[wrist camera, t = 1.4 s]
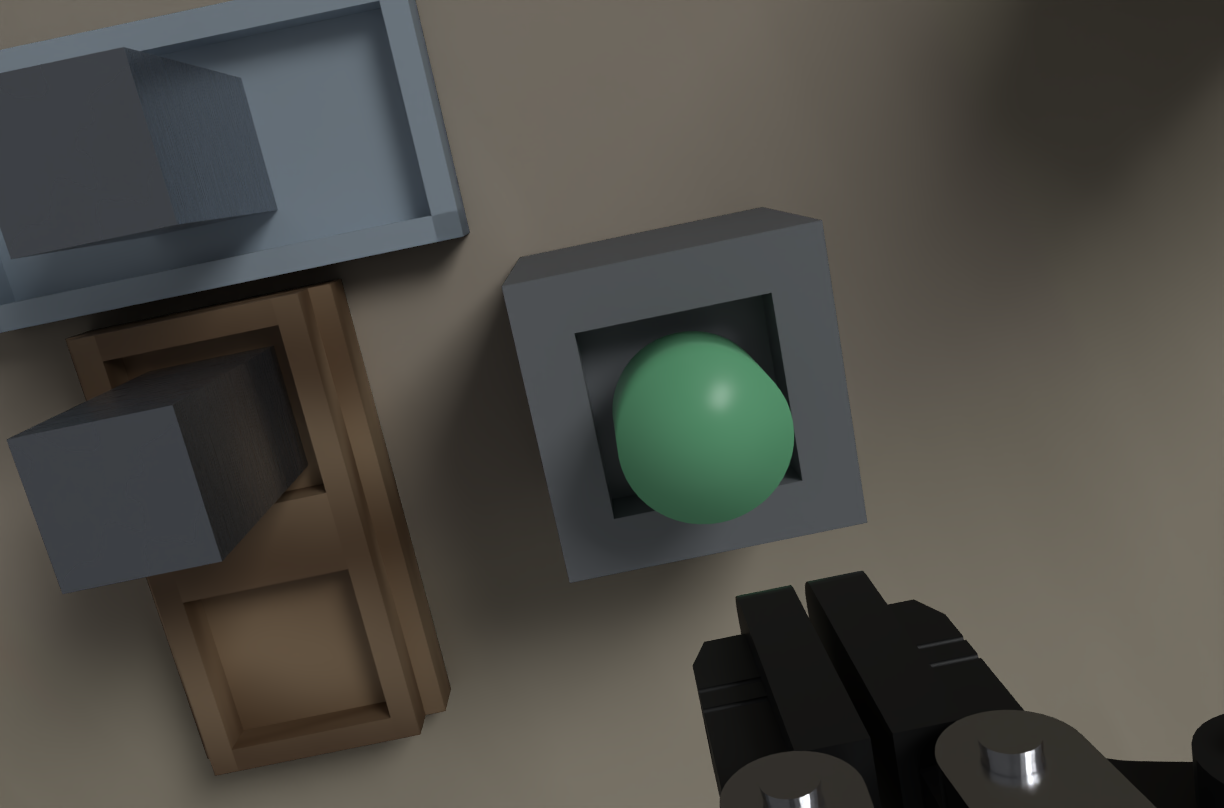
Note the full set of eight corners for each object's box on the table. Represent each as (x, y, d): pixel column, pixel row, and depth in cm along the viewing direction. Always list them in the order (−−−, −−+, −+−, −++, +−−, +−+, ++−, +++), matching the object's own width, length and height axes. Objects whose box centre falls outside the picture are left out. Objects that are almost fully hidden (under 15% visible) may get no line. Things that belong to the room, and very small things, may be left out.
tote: (-78, 80, 30) (-117, 74, 28) (409, -24, 30) (399, -35, 28) (10, 327, 32) (-23, 337, 30) (469, 232, 32) (463, 236, 30)
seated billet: (149, 371, 31) (6, 439, 23) (273, 345, 31) (172, 405, 23) (187, 490, 32) (62, 594, 24) (308, 465, 32) (221, 561, 24)
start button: (597, 348, 25) (601, 373, 22) (755, 316, 25) (778, 336, 22) (629, 497, 26) (635, 540, 23) (780, 466, 26) (806, 505, 23)
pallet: (88, 331, 32) (44, 345, 30) (341, 278, 32) (319, 288, 29) (222, 734, 36) (194, 779, 33) (450, 688, 36) (440, 730, 33)
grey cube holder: (519, 257, 32) (501, 286, 24) (762, 207, 32) (822, 220, 24) (571, 487, 34) (570, 582, 26) (800, 440, 34) (867, 522, 26)
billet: (112, 105, 30) (-50, 83, 22) (241, 77, 30) (123, 46, 22) (153, 236, 31) (11, 259, 23) (277, 209, 31) (177, 224, 23)
